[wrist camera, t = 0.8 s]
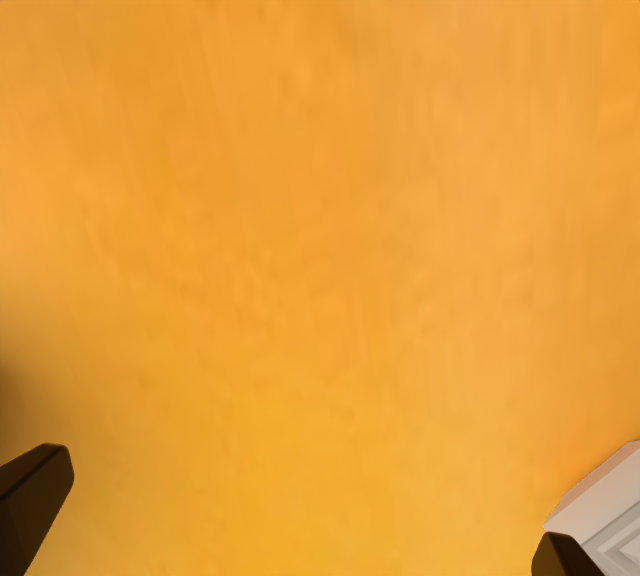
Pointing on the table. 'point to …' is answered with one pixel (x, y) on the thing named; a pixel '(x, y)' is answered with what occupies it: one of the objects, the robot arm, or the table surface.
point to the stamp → (605, 513)
